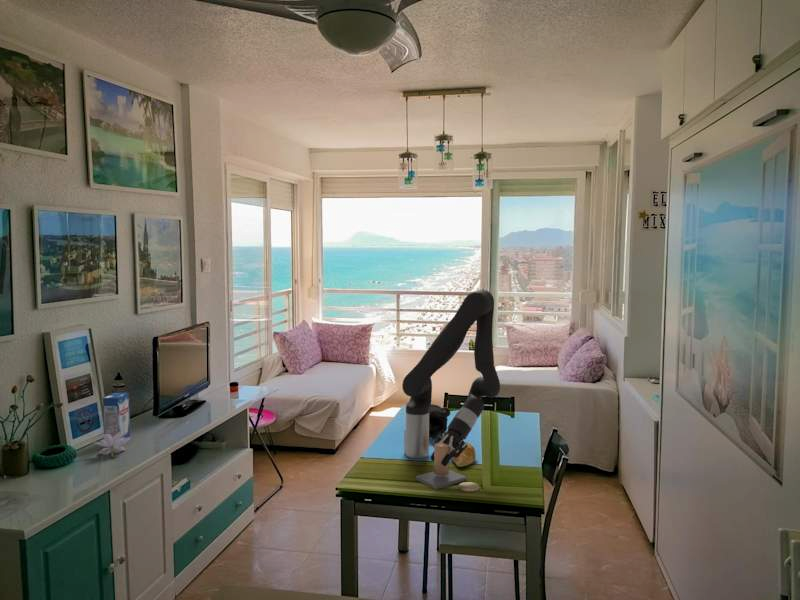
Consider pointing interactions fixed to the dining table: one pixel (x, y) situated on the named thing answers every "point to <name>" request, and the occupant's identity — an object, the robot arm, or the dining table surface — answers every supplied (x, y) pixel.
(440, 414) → the puffin
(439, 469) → the pinkish tan rounded cylinder
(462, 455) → the croissant
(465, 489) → the cork coaster
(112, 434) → the milk carton
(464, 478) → the slate board
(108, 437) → the water lily
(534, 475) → the dining table surface
